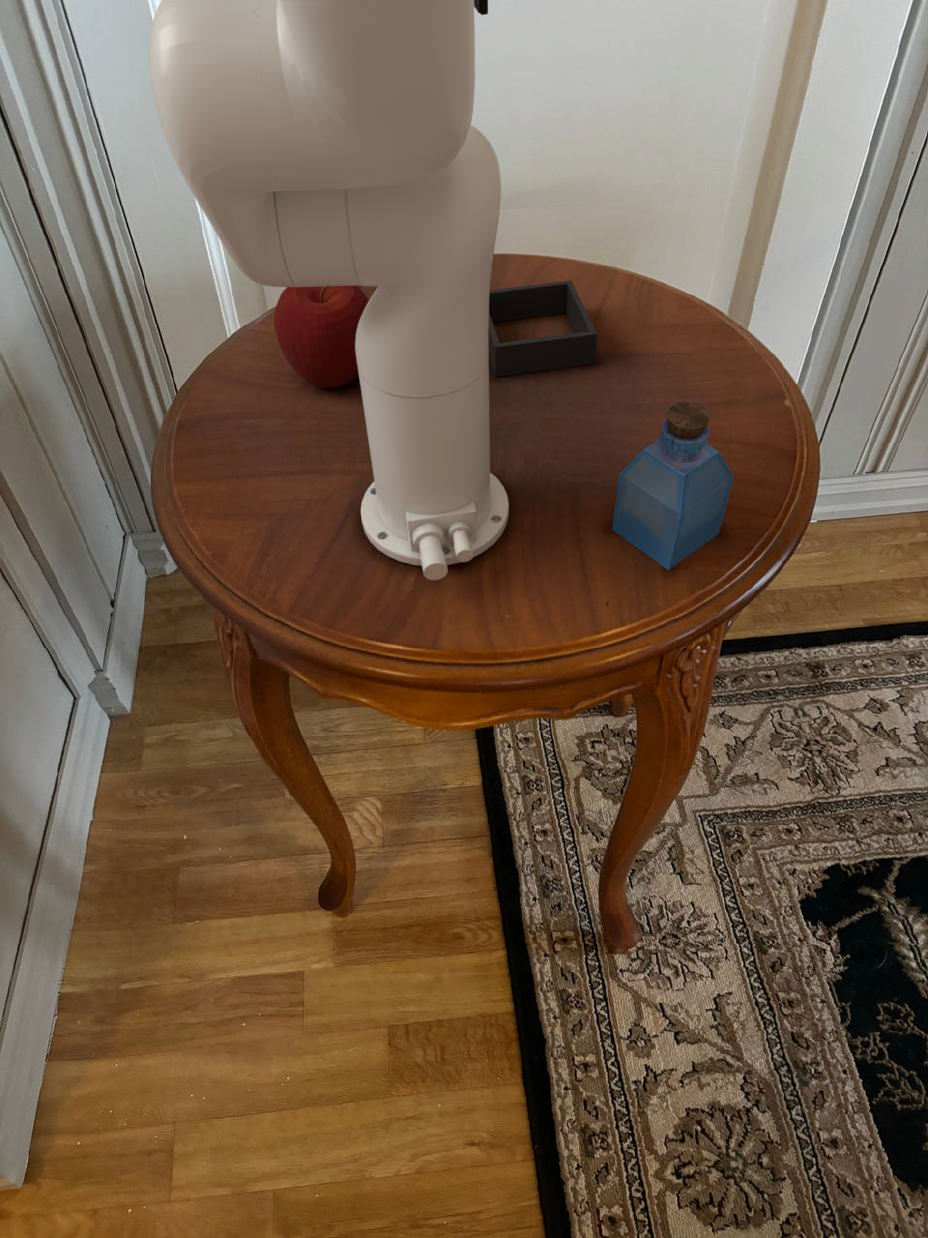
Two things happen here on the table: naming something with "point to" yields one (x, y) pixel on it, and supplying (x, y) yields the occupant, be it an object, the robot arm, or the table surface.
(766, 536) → the table surface
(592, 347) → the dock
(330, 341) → the apple
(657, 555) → the perfume bottle
